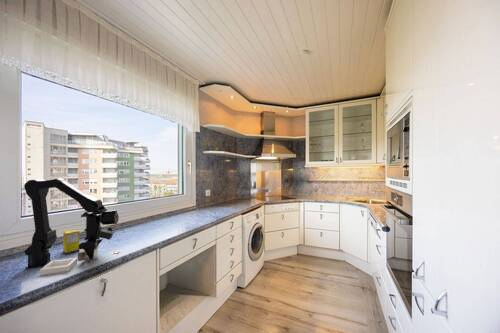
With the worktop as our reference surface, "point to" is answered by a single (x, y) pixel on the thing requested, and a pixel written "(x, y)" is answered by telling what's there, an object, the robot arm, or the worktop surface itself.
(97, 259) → the stop plug
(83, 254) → the crank arm
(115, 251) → the crank base
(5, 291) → the worktop surface
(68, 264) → the tray
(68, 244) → the supplement box
